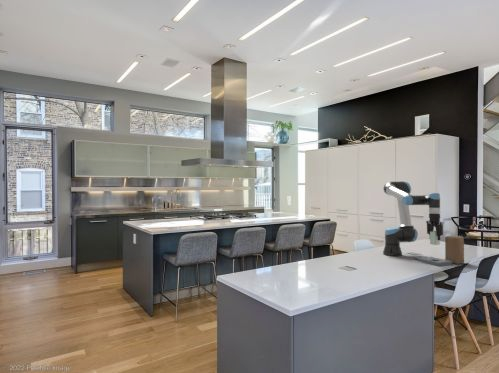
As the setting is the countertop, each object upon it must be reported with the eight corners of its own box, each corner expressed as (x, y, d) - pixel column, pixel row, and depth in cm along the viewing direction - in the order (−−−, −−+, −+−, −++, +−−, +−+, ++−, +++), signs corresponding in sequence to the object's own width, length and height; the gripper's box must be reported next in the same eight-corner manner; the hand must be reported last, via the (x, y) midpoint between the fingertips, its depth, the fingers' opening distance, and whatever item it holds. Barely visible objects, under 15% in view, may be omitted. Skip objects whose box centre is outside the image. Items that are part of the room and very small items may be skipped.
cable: (419, 256, 285) (419, 255, 285) (419, 256, 285) (419, 255, 285) (434, 259, 275) (434, 258, 275) (435, 259, 276) (435, 257, 276)
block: (444, 262, 263) (444, 236, 264) (450, 260, 269) (450, 235, 270) (459, 264, 255) (458, 237, 256) (464, 262, 262) (464, 236, 262)
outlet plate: (418, 261, 268) (418, 258, 268) (431, 259, 273) (431, 256, 273) (438, 265, 251) (438, 262, 251) (451, 264, 256) (451, 261, 256)
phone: (413, 259, 275) (413, 258, 275) (422, 257, 281) (422, 256, 281) (420, 260, 270) (420, 259, 270) (429, 259, 276) (429, 257, 276)
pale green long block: (430, 244, 260) (430, 230, 261) (434, 243, 262) (434, 230, 262) (435, 244, 256) (435, 231, 256) (439, 244, 258) (439, 230, 258)
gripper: (421, 212, 266) (421, 242, 266) (441, 214, 250) (441, 245, 250) (428, 212, 269) (428, 242, 269) (448, 213, 253) (449, 245, 252)
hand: (434, 243), depth 259 cm, fingers closed on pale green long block, 4 cm apart
